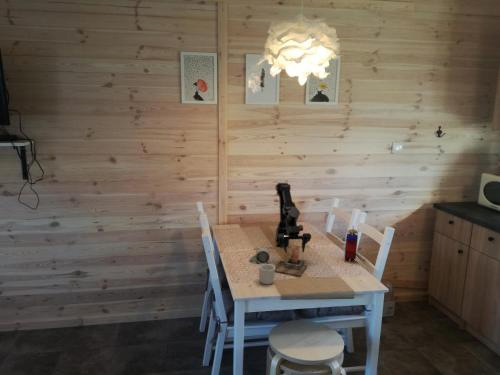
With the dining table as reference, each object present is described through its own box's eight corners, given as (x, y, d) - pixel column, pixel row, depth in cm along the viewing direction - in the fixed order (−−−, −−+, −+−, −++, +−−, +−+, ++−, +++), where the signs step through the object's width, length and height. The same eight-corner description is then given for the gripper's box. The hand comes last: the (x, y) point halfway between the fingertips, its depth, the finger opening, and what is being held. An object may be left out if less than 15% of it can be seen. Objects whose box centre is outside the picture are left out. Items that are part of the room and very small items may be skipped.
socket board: (272, 271, 206) (272, 265, 206) (280, 262, 219) (280, 256, 218) (300, 277, 201) (300, 270, 200) (307, 267, 213) (307, 260, 213)
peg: (288, 266, 211) (289, 246, 209) (293, 264, 214) (294, 244, 212) (294, 268, 209) (295, 248, 206) (299, 266, 211) (300, 246, 209)
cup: (256, 276, 200) (257, 261, 199) (272, 276, 201) (273, 261, 199) (259, 285, 190) (259, 270, 188) (275, 285, 191) (276, 270, 189)
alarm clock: (355, 264, 219) (358, 229, 215) (339, 262, 221) (342, 227, 217) (356, 255, 233) (359, 222, 228) (341, 253, 235) (344, 220, 231)
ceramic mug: (269, 258, 223) (269, 245, 222) (269, 264, 215) (269, 251, 214) (250, 258, 223) (250, 245, 222) (249, 264, 215) (250, 250, 214)
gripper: (277, 219, 210) (279, 246, 202) (311, 219, 212) (315, 246, 204) (274, 228, 220) (276, 254, 211) (307, 228, 222) (310, 254, 214)
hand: (294, 252), depth 210 cm, fingers open, 9 cm apart
